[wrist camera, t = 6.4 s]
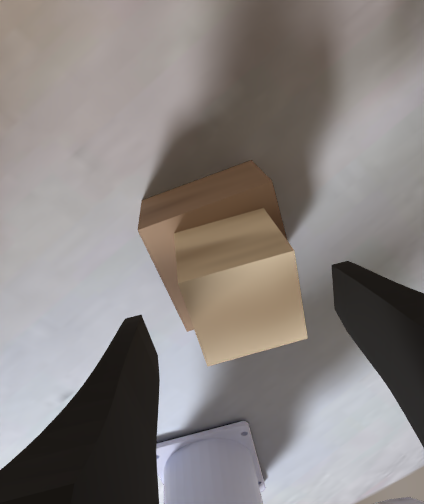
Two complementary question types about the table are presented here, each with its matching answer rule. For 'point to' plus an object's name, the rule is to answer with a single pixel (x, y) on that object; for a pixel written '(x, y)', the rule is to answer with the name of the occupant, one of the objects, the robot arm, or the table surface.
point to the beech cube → (240, 286)
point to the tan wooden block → (201, 216)
